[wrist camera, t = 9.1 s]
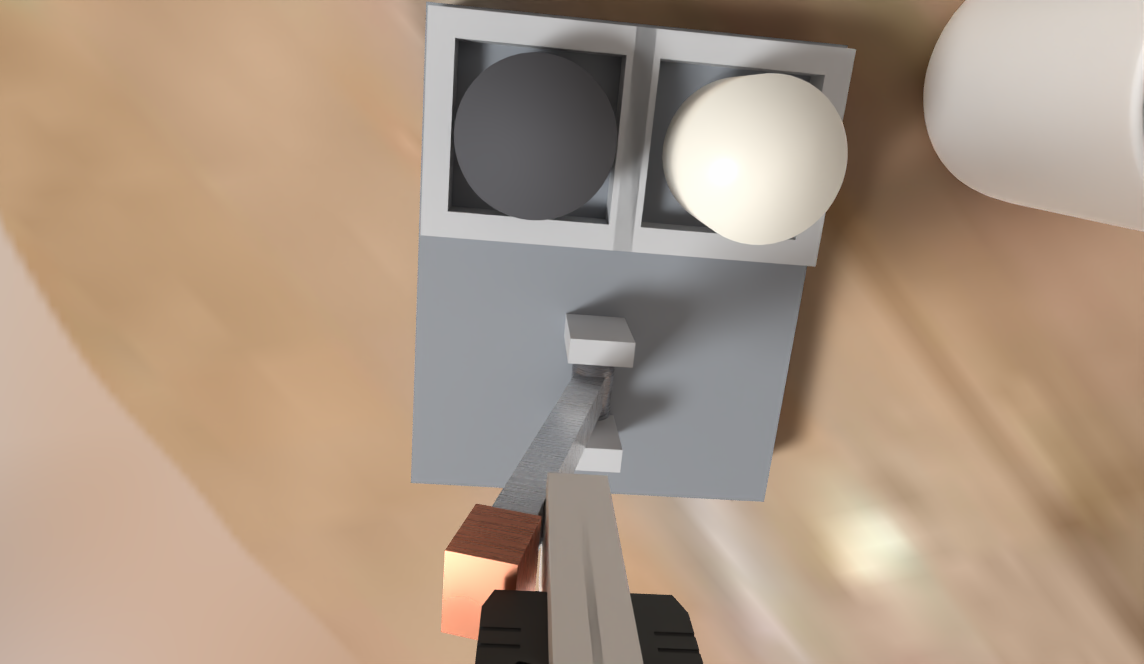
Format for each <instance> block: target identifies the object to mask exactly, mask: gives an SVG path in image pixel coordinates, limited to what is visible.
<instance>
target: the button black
mask: <svg viewBox="0 0 1144 664" xmlns="http://www.w3.org/2000/svg"><path fill="white" fill-rule="evenodd" d="M454 145H455V152H456V156H457V160H458V163H459V166H460V168H461V171H462V173H463V175H464V177H465V179H466V180H467V182H468V184H469V185H470V186H471V188H472V189H473V190H474V191H475V193H476V194H477V195H478V196H479V197H480V198H481V199H482V200H483V201H485V202H486V203H487V204H489V205H490V206H491V207H493V208H495V209H496V210H498V211H500V212H502V213H504V214H506V215H509V216H512V217H515V218H519V219H525V220H548V219H554V218H558V217H561V216H564V215H566V214H569V213H571V212H573V211H575V210H576V209H578V208H580V207H581V206H583V205H584V204H585V203H587V202H588V201H589V200H590V199H591V198H592V197H593V196H594V195H595V194H596V193H597V192H598V190H599V189H600V188H601V187H602V185H603V184H604V182H605V180H606V179H607V177H608V175H609V172H610V170H611V168H612V165H613V162H614V158H615V154H616V148H617V127H616V121H615V116H614V112H613V110H612V107H611V104H610V102H609V100H608V98H607V96H606V94H605V92H604V91H603V89H602V88H601V86H600V85H599V84H598V82H597V81H596V80H595V79H594V78H593V77H592V76H591V75H590V74H589V73H588V72H587V71H585V70H584V69H583V68H582V67H580V66H578V65H577V64H575V63H574V62H572V61H570V60H568V59H565V58H563V57H560V56H557V55H554V54H548V53H540V52H529V53H520V54H516V55H512V56H509V57H507V58H504V59H502V60H499V61H498V62H496V63H494V64H492V65H491V66H489V67H488V68H487V69H485V70H484V71H483V72H482V73H481V74H480V75H479V76H478V77H477V78H476V79H475V80H474V81H473V82H472V84H471V85H470V86H469V88H468V89H467V91H466V92H465V94H464V96H463V98H462V100H461V103H460V105H459V108H458V111H457V115H456V119H455V126H454Z"/></svg>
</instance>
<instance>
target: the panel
mask: <svg viewBox="0 0 1144 664" xmlns="http://www.w3.org/2000/svg"><path fill="white" fill-rule="evenodd" d="M847 46H848V45H838V44H829V43H819V42H809V41H800V40H790V39H780V38H771V37H761V36H751V35H742V34H732V33H723V32H713V31H703V30H694V29H684V28H674V27H665V26H655V25H645V24H636V23H626V22H617V21H607V20H597V19H588V18H578V17H568V16H559V15H549V14H539V13H530V12H520V11H511V10H501V9H491V8H482V7H472V6H462V5H453V4H443V3H433V2H426V33H425V64H424V95H423V127H422V158H421V189H420V220H419V251H418V282H417V314H416V345H415V376H414V407H413V438H412V469H411V483H424V484H443V485H461V486H480V487H499V488H504V486H505V485H506V483H507V482H508V480H509V478H510V477H511V475H512V474H513V472H514V470H515V469H516V467H517V466H518V464H519V462H520V461H521V459H522V458H523V456H524V454H525V453H526V451H527V449H528V448H529V446H530V445H531V443H532V441H533V440H534V438H535V437H536V435H537V433H538V432H539V430H540V429H541V427H542V425H543V424H544V422H545V421H546V419H547V417H548V416H549V414H550V413H551V411H552V409H553V408H554V406H555V405H556V403H557V401H558V400H559V398H560V397H561V395H562V393H563V392H564V390H565V389H566V387H567V385H568V384H569V382H570V381H571V376H572V365H573V364H585V365H600V366H615V368H614V377H613V386H612V395H611V404H610V412H609V417H608V418H607V419H605V420H602V421H597V423H596V425H595V427H594V429H593V432H592V434H591V436H590V438H589V440H588V443H587V445H586V447H585V449H584V452H583V454H582V456H581V458H580V460H579V463H578V465H577V467H576V469H575V471H574V474H587V475H606V476H608V481H609V487H610V492H611V494H630V495H649V496H667V497H686V498H705V499H724V500H742V501H761V502H764V498H765V492H766V487H767V482H768V476H769V471H770V465H771V460H772V454H773V449H774V443H775V438H776V433H777V427H778V422H779V416H780V411H781V405H782V400H783V395H784V389H785V384H786V378H787V373H788V367H789V362H790V356H791V351H792V346H793V340H794V335H795V329H796V324H797V318H798V313H799V307H800V302H801V297H802V291H803V286H804V280H805V275H806V269H807V266H815V267H816V261H817V256H818V251H819V245H820V240H821V234H822V229H823V224H824V218H825V213H826V212H825V213H824V214H823V216H822V217H821V218H820V219H819V220H818V221H817V222H815V223H814V224H813V225H812V226H811V227H809V228H808V229H806V230H805V231H804V232H802V233H800V234H798V235H796V236H794V237H792V238H790V239H787V240H785V241H781V242H777V243H773V244H765V245H750V244H744V243H739V242H736V241H732V240H730V239H728V238H725V237H723V236H721V235H720V234H718V233H717V232H715V231H713V230H712V229H711V228H709V227H708V226H706V225H705V224H703V223H702V222H701V221H699V220H698V219H696V218H695V217H694V216H692V215H691V214H689V213H688V212H687V211H686V210H685V209H684V208H683V207H682V206H681V205H680V204H679V203H678V202H677V200H676V199H675V197H674V196H673V195H672V193H671V191H670V189H669V187H668V184H667V181H666V178H665V175H664V170H663V161H662V153H663V144H664V139H665V135H666V132H667V129H668V126H669V124H670V122H671V120H672V118H673V116H674V115H675V113H676V111H677V110H678V109H679V107H680V106H681V105H682V104H683V102H684V101H685V100H686V99H687V98H688V97H690V96H691V95H692V94H693V93H694V92H696V91H697V90H698V89H700V88H702V87H703V86H705V85H707V84H709V83H712V82H714V81H717V80H720V79H724V78H729V77H738V76H747V75H756V74H765V73H779V74H785V75H791V76H794V77H797V78H800V79H802V80H804V81H806V82H808V83H810V84H812V85H813V86H814V87H816V88H817V89H819V90H820V91H821V92H822V93H823V94H824V95H825V96H826V97H827V98H828V99H829V100H830V102H831V103H832V104H833V105H834V107H835V109H836V110H837V112H838V114H839V116H840V118H841V120H842V122H843V117H844V112H845V106H846V101H847V96H848V90H849V85H850V79H851V74H852V69H853V63H854V58H855V53H856V49H849V48H847ZM529 52H540V53H548V54H554V55H557V56H560V57H563V58H565V59H568V60H570V61H572V62H574V63H575V64H577V65H578V66H580V67H582V68H583V69H584V70H585V71H587V72H588V73H589V74H590V75H591V76H592V77H593V78H594V79H595V80H596V81H597V82H598V84H599V85H600V86H601V88H602V89H603V91H604V92H605V94H606V96H607V98H608V100H609V102H610V104H611V107H612V110H613V112H614V116H615V121H616V127H617V148H616V154H615V158H614V162H613V165H612V168H611V170H610V172H609V175H608V177H607V179H606V180H605V182H604V184H603V185H602V187H601V188H600V189H599V190H598V192H597V193H596V194H595V195H594V196H593V197H592V198H591V199H590V200H589V201H588V202H587V203H585V204H584V205H583V206H581V207H580V208H578V209H576V210H575V211H573V212H571V213H569V214H566V215H564V216H561V217H558V218H554V219H548V220H525V219H519V218H515V217H512V216H509V215H506V214H504V213H502V212H500V211H498V210H496V209H495V208H493V207H491V206H490V205H489V204H487V203H486V202H485V201H483V200H482V199H481V198H480V197H479V196H478V195H477V194H476V193H475V191H474V190H473V189H472V188H471V186H470V185H469V184H468V182H467V180H466V179H465V177H464V175H463V173H462V171H461V168H460V166H459V163H458V160H457V156H456V152H455V145H454V126H455V119H456V115H457V111H458V108H459V105H460V103H461V100H462V98H463V96H464V94H465V92H466V91H467V89H468V88H469V86H470V85H471V84H472V82H473V81H474V80H475V79H476V78H477V77H478V76H479V75H480V74H481V73H482V72H483V71H484V70H485V69H487V68H488V67H489V66H491V65H492V64H494V63H496V62H498V61H499V60H502V59H504V58H507V57H509V56H512V55H516V54H520V53H529Z"/></svg>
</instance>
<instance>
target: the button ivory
mask: <svg viewBox="0 0 1144 664" xmlns="http://www.w3.org/2000/svg"><path fill="white" fill-rule="evenodd" d="M847 159H848V146H847V138H846V133H845V129H844V125H843V123H842V120H841V118H840V116H839V114H838V112H837V110H836V109H835V107H834V105H833V104H832V103H831V102H830V100H829V99H828V98H827V97H826V96H825V95H824V94H823V93H822V92H821V91H820V90H819V89H817V88H816V87H814V86H813V85H812V84H810V83H808V82H806V81H804V80H802V79H800V78H797V77H794V76H791V75H785V74H779V73H765V74H756V75H747V76H738V77H729V78H724V79H720V80H717V81H714V82H712V83H709V84H707V85H705V86H703V87H702V88H700V89H698V90H697V91H696V92H694V93H693V94H692V95H691V96H690V97H688V98H687V99H686V100H685V101H684V102H683V104H682V105H681V106H680V107H679V109H678V110H677V111H676V113H675V115H674V116H673V118H672V120H671V122H670V124H669V126H668V129H667V132H666V135H665V139H664V144H663V153H662V161H663V170H664V175H665V178H666V181H667V184H668V187H669V189H670V191H671V193H672V195H673V196H674V197H675V199H676V200H677V202H678V203H679V204H680V205H681V206H682V207H683V208H684V209H685V210H686V211H687V212H688V213H689V214H691V215H692V216H694V217H695V218H696V219H698V220H699V221H701V222H702V223H703V224H705V225H706V226H708V227H709V228H711V229H712V230H713V231H715V232H717V233H718V234H720V235H721V236H723V237H725V238H728V239H730V240H732V241H736V242H739V243H744V244H750V245H765V244H773V243H777V242H781V241H785V240H787V239H790V238H792V237H794V236H796V235H798V234H800V233H802V232H804V231H805V230H806V229H808V228H809V227H811V226H812V225H813V224H814V223H815V222H817V221H818V220H819V219H820V218H821V217H822V216H823V214H824V213H825V212H826V211H827V210H828V209H829V207H830V206H831V204H832V203H833V201H834V200H835V198H836V196H837V194H838V192H839V190H840V188H841V185H842V182H843V180H844V176H845V172H846V167H847Z"/></svg>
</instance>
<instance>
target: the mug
mask: <svg viewBox="0 0 1144 664" xmlns="http://www.w3.org/2000/svg"><path fill="white" fill-rule="evenodd" d="M923 108H924V117H925V123H926V127H927V131H928V135H929V138H930V140H931V143H932V145H933V148H934V150H935V151H936V153H937V155H938V157H939V158H940V160H941V161H942V163H943V164H944V165H945V166H946V168H947V169H948V170H949V171H950V172H951V173H952V174H953V175H954V176H955V177H956V178H957V179H958V180H960V181H961V182H963V183H964V184H965V185H967V186H968V187H970V188H972V189H974V190H975V191H978V192H980V193H982V194H984V195H986V196H989V197H992V198H995V199H998V200H1002V201H1005V202H1009V203H1013V204H1017V205H1021V206H1026V207H1031V208H1035V209H1040V210H1045V211H1049V212H1054V213H1059V214H1063V215H1068V216H1073V217H1077V218H1082V219H1087V220H1091V221H1096V222H1101V223H1105V224H1110V225H1114V226H1119V227H1124V228H1128V229H1133V230H1138V231H1142V232H1144V0H965V1H964V2H963V3H962V5H961V6H960V7H959V8H958V9H957V11H956V12H955V13H954V14H953V16H952V17H951V19H950V20H949V22H948V23H947V25H946V26H945V28H944V29H943V31H942V33H941V35H940V37H939V39H938V41H937V43H936V45H935V47H934V50H933V53H932V55H931V58H930V61H929V64H928V68H927V72H926V76H925V83H924V92H923Z"/></svg>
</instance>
